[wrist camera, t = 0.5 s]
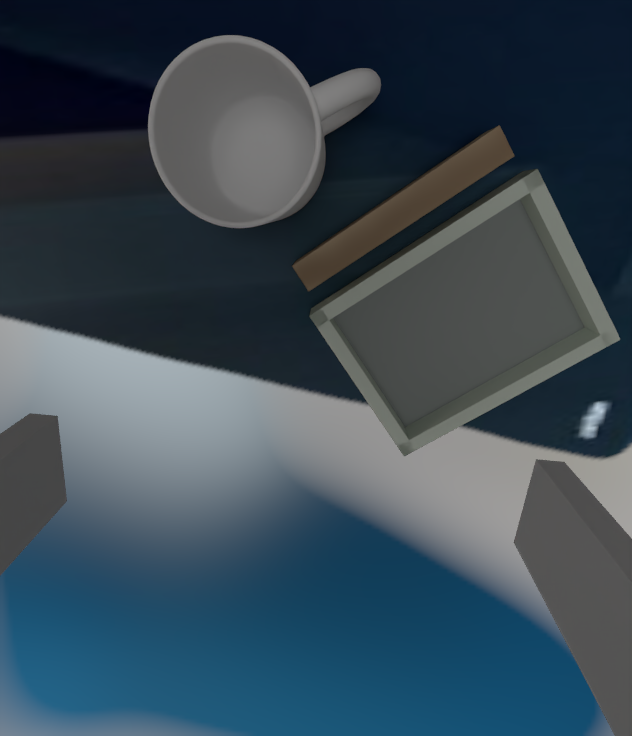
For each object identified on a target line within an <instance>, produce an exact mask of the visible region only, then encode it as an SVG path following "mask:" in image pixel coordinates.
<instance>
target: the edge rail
mask: <svg viewBox="0 0 632 736" xmlns="http://www.w3.org/2000/svg"><path fill="white" fill-rule="evenodd" d="M512 157H514V154H513V152H512V150H511V148H510V146H509V144H508V142H507V140H506V137H505V135H504V133H503V131H502V129H501V127H500V125H499V126H497V127H495V128H493V129H491V130H489V131H487V132H485V133H483V134H482V135H480V136H479V137H477V138H476V139H474V140H473V141H471V142H470V143H469V144H467V145H466V146H464V147H463V148H461V149H460V150H458V151H457V152H455V153H454V154H452V155H451V156H449V157H448V158H446V159H445V160H443V161H442V162H441V163H439V164H438V165H436V166H435V167H433V168H432V169H430V170H429V171H427V172H426V173H424V174H423V175H421V176H420V177H418V178H417V179H416V180H414V181H413V182H411V183H410V184H408V185H407V186H405V187H404V188H402V189H401V190H399V191H398V192H396V193H395V194H393V195H392V196H391V197H389V198H388V199H386V200H385V201H383V202H382V203H380V204H379V205H377V206H376V207H374V208H373V209H371V210H370V211H368V212H367V213H366V214H364V215H363V216H361V217H360V218H358V219H357V220H355V221H354V222H352V223H351V224H349V225H348V226H346V227H345V228H343V229H342V230H341V231H339V232H338V233H336V234H335V235H333V236H332V237H330V238H329V239H327V240H326V241H324V242H323V243H321V244H320V245H318V246H317V247H315V248H314V249H313V250H311V251H310V252H308V253H307V254H305V255H304V256H302V257H301V258H299V259H298V260H296V261H295V263H294V264H293V265H292V267H293V269H294V270H295V272H296V273H297V275H298V276H299V278H300V279H301V281H302V282H303V284H304V285H305V287H306V288H307V290H308V291H310V290H312V289H313V288H315V287H316V286H318V285H319V284H321V283H322V282H324V281H325V280H327V279H328V278H330V277H331V276H333V275H334V274H336V273H337V272H339V271H340V270H342V269H344V268H345V267H347V266H348V265H350V264H351V263H353V262H354V261H356V260H357V259H359V258H360V257H362V256H363V255H365V254H366V253H368V252H369V251H371V250H372V249H374V248H375V247H377V246H378V245H380V244H381V243H383V242H385V241H386V240H388V239H389V238H391V237H392V236H394V235H395V234H397V233H398V232H400V231H401V230H403V229H404V228H406V227H407V226H409V225H410V224H412V223H413V222H415V221H416V220H418V219H419V218H421V217H422V216H424V215H426V214H427V213H429V212H430V211H432V210H433V209H435V208H436V207H438V206H439V205H441V204H442V203H444V202H445V201H447V200H448V199H450V198H451V197H453V196H454V195H456V194H457V193H459V192H460V191H462V190H464V189H465V188H467V187H468V186H470V185H471V184H473V183H474V182H476V181H477V180H479V179H480V178H482V177H483V176H485V175H486V174H488V173H489V172H491V171H492V170H494V169H495V168H497V167H498V166H500V165H501V164H503V163H505V162H506V161H508V160H509V159H511V158H512Z"/></svg>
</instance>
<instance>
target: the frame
mask: <svg viewBox="0 0 632 736" xmlns="http://www.w3.org/2000/svg"><path fill="white" fill-rule="evenodd" d="M309 316H310V318H311V319H312V321H313V322H314V324H315V325H316V327H317V328H318V330H319V331H320V333H321V334H322V336H323V337H324V339H325V340H326V342H327V343H328V345H329V346H330V348H331V349H332V351H333V352H334V353H335V355H336V356H337V358H338V359H339V361H340V362H341V364H342V365H343V367H344V368H345V370H346V371H347V373H348V374H349V376H350V377H351V379H352V380H353V382H354V383H355V385H356V386H357V387H358V389H359V390H360V392H361V393H362V395H363V396H364V398H365V399H366V401H367V402H368V404H369V405H370V407H371V408H372V410H373V411H374V412H375V414H376V416H377V417H378V419H379V420H380V421H381V423H382V424H383V426H384V427H385V429H386V430H387V432H388V433H389V435H390V436H391V438H392V439H393V441H394V442H395V444H396V445H397V447H398V448H399V450H400V451H401V453H402V454H403V455H404V456H406V455H408V454H410V453H411V452H413V451H415V450H417V449H419V448H420V447H423V446H424V445H426V444H428V443H430V442H432V441H434V440H436V439H437V438H439V437H441V436H443V435H445V434H447V433H448V432H450V431H452V430H454V429H456V428H458V427H460V426H461V425H463V424H465V423H467V422H469V421H471V420H472V419H474V418H476V417H478V416H480V415H482V414H484V413H485V412H487V411H489V410H491V409H493V408H495V407H496V406H498V405H500V404H502V403H504V402H506V401H508V400H509V399H511V398H513V397H515V396H517V395H519V394H520V393H522V392H524V391H526V390H528V389H530V388H532V387H533V386H535V385H537V384H539V383H541V382H543V381H545V380H546V379H548V378H550V377H552V376H554V375H556V374H557V373H559V372H561V371H563V370H565V369H567V368H569V367H570V366H572V365H574V364H576V363H578V362H580V361H581V360H583V359H585V358H587V357H589V356H591V355H593V354H594V353H596V352H598V351H600V350H602V349H604V348H605V347H607V346H609V345H611V344H613V343H615V342H617V341H618V340H620V338H619V336H618V333H617V331H616V329H615V327H614V325H613V323H612V321H611V319H610V317H609V315H608V313H607V311H606V309H605V307H604V305H603V303H602V301H601V298H600V296H599V294H598V292H597V290H596V288H595V286H594V284H593V282H592V280H591V278H590V276H589V274H588V272H587V270H586V268H585V265H584V263H583V261H582V259H581V257H580V255H579V253H578V251H577V249H576V247H575V245H574V243H573V241H572V239H571V237H570V235H569V233H568V230H567V228H566V226H565V224H564V222H563V220H562V218H561V216H560V214H559V212H558V210H557V208H556V206H555V204H554V202H553V200H552V198H551V195H550V193H549V191H548V189H547V187H546V185H545V183H544V181H543V179H542V177H541V175H540V173H539V171H538V169H534V170H528V171H523V172H521V173H520V174H518V175H516V176H515V177H513V178H512V179H510V180H509V181H507V182H506V183H504V184H503V185H501V186H499V187H498V188H496V189H495V190H493V191H492V192H490V193H489V194H487V195H486V196H484V197H482V198H481V199H479V200H478V201H476V202H475V203H473V204H472V205H470V206H469V207H467V208H466V209H464V210H462V211H461V212H459V213H458V214H456V215H455V216H453V217H452V218H450V219H449V220H447V221H445V222H444V223H442V224H441V225H439V226H438V227H436V228H435V229H433V230H432V231H430V232H428V233H427V234H425V235H424V236H422V237H421V238H419V239H418V240H416V241H415V242H413V243H412V244H410V245H408V246H407V247H405V248H404V249H402V250H401V251H399V252H398V253H396V254H395V255H393V256H391V257H390V258H388V259H387V260H385V261H384V262H382V263H381V264H379V265H378V266H376V267H375V268H373V269H371V270H370V271H368V272H367V273H365V274H364V275H362V276H361V277H359V278H358V279H356V280H354V281H353V282H351V283H350V284H348V285H347V286H345V287H344V288H342V289H341V290H339V291H337V292H336V293H334V294H333V295H331V296H330V297H328V298H327V299H325V300H324V301H322V302H321V303H319V304H317V305H316V306H314V307H313V308H311V311H310V315H309Z"/></svg>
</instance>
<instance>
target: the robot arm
mask: <svg viewBox="0 0 632 736" xmlns="http://www.w3.org/2000/svg"><path fill="white" fill-rule="evenodd" d="M66 501H67V499H66V489H65V480H64V471H63V463H62V454H61V444H60V435H59V426H58V416H51V415H41V414H29V415H27V416H25V417H24V418H23V419H21V420H20V421H18V422H17V423H15V424H14V425H13V426H11V427H10V428H8V429H7V430H5V431H4V432H2V433H1V434H0V575H1V574H2V573H3V572H4V571H5V570H6V568H7V567H8V566H9V565H10V564H11V563H12V562H13V561H14V560H15V558H16V557H17V556H18V555H19V554H20V553H21V552H22V550H24V548H25V547H26V546H27V545H28V544H29V543H30V542H31V541H32V539H33V538H34V537H35V536H36V535H37V534H38V533H39V532H40V531H41V529H42V528H43V527H44V526H45V525H46V524H47V523H48V522H49V520H50V519H51V518H52V517H53V516H54V515H55V514H56V513H57V512H58V510H59V509H60V508H61V507H62V506H63V505H64V504H65V503H66ZM514 543H515V545H516V548H517V549H518V551H519V553H520V555H521V557H522V559H523V561H524V563H525V565H526V567H527V569H528V570H529V572H530V574H531V576H532V578H533V580H534V582H535V584H536V586H537V587H538V590H539V591H540V593H541V595H542V597H543V599H544V601H545V603H546V605H547V607H548V609H549V611H550V613H551V614H552V616H553V618H554V620H555V622H556V624H557V626H558V628H559V630H560V632H561V633H562V635H563V637H564V639H565V641H566V643H567V645H568V647H569V648H570V651H571V653H572V654H573V656H574V658H575V660H576V662H577V664H578V666H579V668H580V670H581V671H582V674H583V676H584V677H585V679H586V681H587V683H588V685H589V687H590V689H591V691H592V693H593V695H594V697H595V698H596V700H597V702H598V704H599V706H600V708H601V710H602V712H603V714H604V716H605V718H606V720H607V721H608V723H609V725H610V727H611V729H612V731H613V733H614V735H615V736H632V539H631V538H630V536H629V535H628V534H627V533H626V532H625V531H624V530H623V528H622V527H621V526H620V525H619V524H618V523H617V522H616V520H615V519H614V518H613V517H612V516H611V515H610V514H609V512H608V511H607V510H606V509H605V508H604V507H603V506H602V504H601V503H600V502H599V501H598V500H597V499H596V498H595V496H594V495H593V494H592V493H591V492H590V491H589V490H588V489H587V487H586V486H585V485H584V484H583V483H582V482H581V481H580V479H579V478H578V477H577V476H576V475H575V474H574V473H573V472H572V470H571V469H570V468H569V467H568V466H567V465H566V463H565V462H557V461H547V460H536V462H535V466H534V469H533V473H532V477H531V480H530V484H529V488H528V491H527V495H526V499H525V503H524V507H523V511H522V514H521V518H520V521H519V525H518V529H517V533H516V536H515V540H514Z"/></svg>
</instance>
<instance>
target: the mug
mask: <svg viewBox="0 0 632 736" xmlns="http://www.w3.org/2000/svg"><path fill="white" fill-rule="evenodd" d="M380 87H381V81H380V78H379V76H378V75H377V73H376V72H375V71H373V70H372V69H368V68H358V69H353V70H350V71H347V72H344V73H342V74H339V75H337V76H334V77H332V78H330V79H327V80H325V81H323V82H321V83H319V84H316V85H314V86H312V87H309V85H308V83H307V81H306V80H305V78H304V77H303V75H302V73H301V72H300V71H299V70H298V69H297V67H296V66H295V65H294V64H293V63H292V62H291V61H290V60H289V59H288V58H287V57H286V56H285V55H284V54H282V53H281V52H279V51H278V50H277V49H275V48H274V47H272V46H270V45H268V44H266V43H264V42H262V41H259V40H256V39H253V38H250V37H244V36H239V35H224V36H216V37H212V38H209V39H205V40H202V41H200V42H198V43H196V44H194V45H192V46H190V47H189V48H187V49H186V50H184V51H183V52H182V53H181V54H180V55H178V56H177V57H176V58H175V59H174V60H173V61H172V62H171V64H170V65H169V66H168V67H167V68H166V70H165V71H164V73H163V75H162V76H161V78H160V79H159V82H158V84H157V86H156V88H155V91H154V94H153V97H152V100H151V104H150V110H149V118H148V135H149V144H150V149H151V154H152V157H153V160H154V163H155V166H156V168H157V171H158V173H159V175H160V177H161V179H162V181H163V182H164V184H165V186H166V187H167V189H168V190H169V191H170V193H171V194H172V195H173V196H174V197H175V199H176V200H177V201H178V202H179V203H180V204H181V205H182V206H184V207H185V208H186V209H187V210H188V211H190V212H191V213H193V214H194V215H196V216H197V217H199V218H201V219H203V220H205V221H207V222H210V223H213V224H216V225H219V226H223V227H229V228H249V227H255V226H259V225H263V224H267V223H271V222H274V221H278V220H281V219H284V218H286V217H289V216H291V215H292V214H294V213H296V212H297V211H299V210H300V209H301V208H303V207H304V206H305V205H306V204H307V203H308V202H309V201H310V199H311V198H312V197H313V195H314V194H315V192H316V190H317V189H318V187H319V185H320V182H321V180H322V177H323V173H324V168H325V160H326V150H325V141H324V136H325V135H327V134H329V133H330V132H332V131H334V130H335V129H337V128H339V127H340V126H342V125H344V124H345V123H347V122H348V121H350V120H351V119H353V118H354V117H355V116H357V115H358V114H359V113H361V112H362V111H363V110H364V109H366V108H367V107H368V106H369V105H370V104H371V103H372V102H373V101H374V100H375V99H376V97H377V96H378V94H379V92H380Z"/></svg>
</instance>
